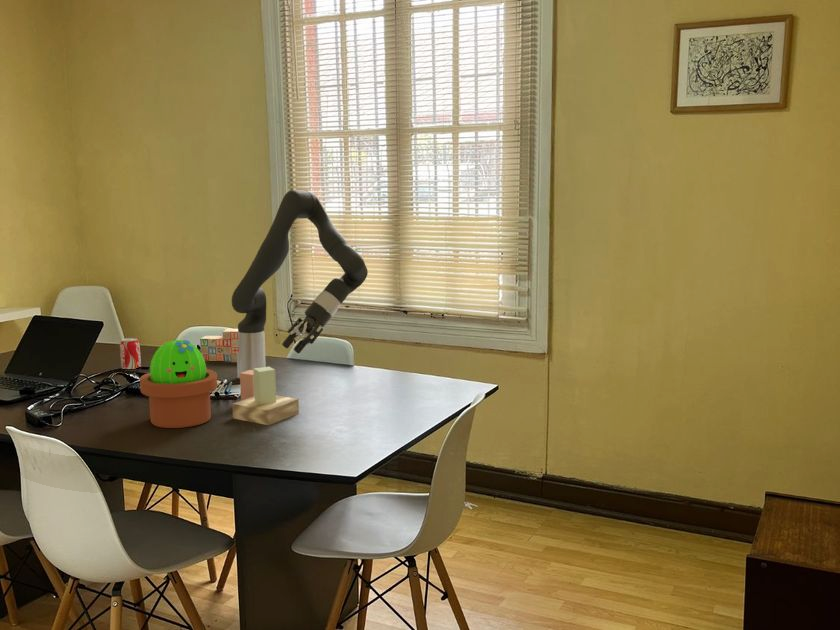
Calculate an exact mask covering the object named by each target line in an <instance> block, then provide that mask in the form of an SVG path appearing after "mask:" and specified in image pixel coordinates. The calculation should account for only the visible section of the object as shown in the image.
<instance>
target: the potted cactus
mask: <svg viewBox="0 0 840 630" xmlns="http://www.w3.org/2000/svg"><path fill="white" fill-rule="evenodd" d="M162 343H163V344H161V345H160V346H159V347H158V348H157V350H156V351H155V352H154V355H152V359H151V360H150V367H149V372H147V373H144V374H143V375H141V376H140V378H139V387H140V393H141V394H142V395H144V396H146V397H148V398H149V399H148V401H149V402H148V403H149V416H150V422H151V424H152V425H153V426H155V427H158V428H163V429H181V428H182V429H183V428H188V427H189V428H190V427H195V426H199V425H202V424H205V423H207V422H208V421H210V419H211V415H212V414H211V396H210V395H211V393H210V392H213V391H215V390H216V388H218V374H217V372H216V371H215V370H212V369H209V368H208V367H207V366H206V365H207V364H208V363H207V362H206V361H205V360H204V358H203V356H202V354H201V351H202V350H201V349H198V347H197V346H196V345H194V344H193V343H192V342H191V341H189V340H188V339H181V338H180V339H177V338H175V339H172V340H170V341H168V340H167V341H166V342H162Z"/></svg>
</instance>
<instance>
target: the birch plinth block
mask: <svg viewBox="0 0 840 630" xmlns="http://www.w3.org/2000/svg"><path fill="white" fill-rule="evenodd" d="M231 406H232V419H233V420H234V419H235V420H239V421H244V422H250V423H254V422H255V423H256V424H260V425H266V426H270V424H271V425H273V424H275V423H278V422H280V421H282V420H286V419H288V418H290V417H294V416H296V415H298V414H299V413H300V411H299V408H300V407H299V406H300V405H299V398H294V397H290V396H289V397H288V396H287V397H286V396H283V395H282V396H281V395H277V394H276V402H273V403H267V404H259V403H258V402H256V401H255V397H254V396H253V397H251V398H248V399H245V400H242V401H241V400H238V401H236V402H234V403H233V402H232V404H231Z"/></svg>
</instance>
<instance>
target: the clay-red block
mask: <svg viewBox="0 0 840 630" xmlns="http://www.w3.org/2000/svg"><path fill="white" fill-rule="evenodd" d="M239 385H240V386H239V387H240V401H242V400H245V399H248V398H251V397H253V396H254V370H248V371H245V372H242V373H240V378H239Z"/></svg>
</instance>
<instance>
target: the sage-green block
mask: <svg viewBox="0 0 840 630" xmlns="http://www.w3.org/2000/svg"><path fill="white" fill-rule="evenodd" d="M253 370H254V397H255V401H256V402H258V403H259V404H267V403H273V402H276V395H277V386H276V385H277V383H276V381H277V380H276V369H275V368H274V367H271V366H266V367H262V368H254V369H253Z"/></svg>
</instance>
